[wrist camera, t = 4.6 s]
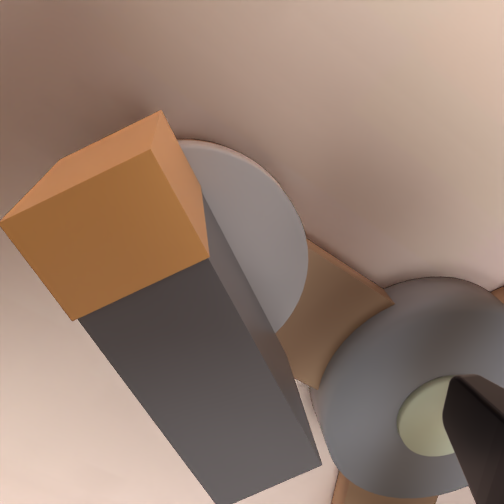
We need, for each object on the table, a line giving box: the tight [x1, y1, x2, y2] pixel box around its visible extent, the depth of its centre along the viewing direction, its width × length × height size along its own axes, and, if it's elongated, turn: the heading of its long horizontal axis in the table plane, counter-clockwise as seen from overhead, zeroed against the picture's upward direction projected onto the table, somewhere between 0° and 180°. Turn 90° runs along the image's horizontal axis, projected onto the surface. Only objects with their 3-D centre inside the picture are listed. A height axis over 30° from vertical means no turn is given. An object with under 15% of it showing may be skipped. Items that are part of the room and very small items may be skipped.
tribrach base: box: [177, 139, 504, 504], centre depth 18 cm, size 23×21×2 cm
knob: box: [0, 110, 322, 504], centre depth 11 cm, size 8×6×5 cm
